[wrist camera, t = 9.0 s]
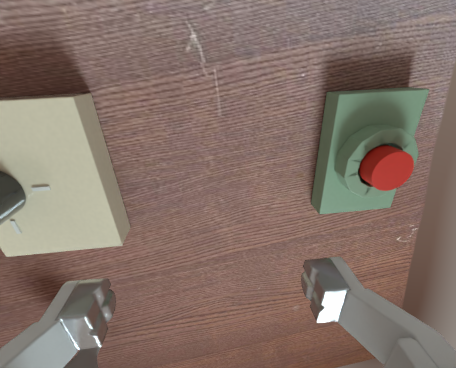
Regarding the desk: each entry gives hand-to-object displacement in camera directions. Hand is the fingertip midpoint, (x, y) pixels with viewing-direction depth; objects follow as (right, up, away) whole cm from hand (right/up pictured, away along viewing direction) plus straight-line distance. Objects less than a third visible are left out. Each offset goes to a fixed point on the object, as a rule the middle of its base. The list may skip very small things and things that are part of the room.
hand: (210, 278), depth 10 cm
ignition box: (+14, +7, +14) cm, 21 cm away
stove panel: (-16, +5, +12) cm, 21 cm away
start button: (+14, +6, +11) cm, 19 cm away
